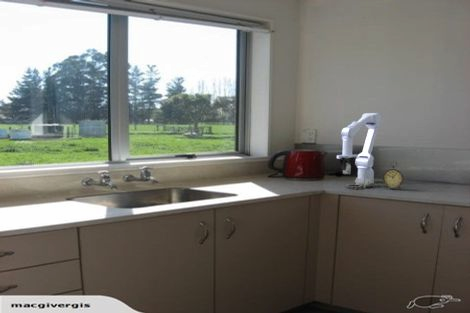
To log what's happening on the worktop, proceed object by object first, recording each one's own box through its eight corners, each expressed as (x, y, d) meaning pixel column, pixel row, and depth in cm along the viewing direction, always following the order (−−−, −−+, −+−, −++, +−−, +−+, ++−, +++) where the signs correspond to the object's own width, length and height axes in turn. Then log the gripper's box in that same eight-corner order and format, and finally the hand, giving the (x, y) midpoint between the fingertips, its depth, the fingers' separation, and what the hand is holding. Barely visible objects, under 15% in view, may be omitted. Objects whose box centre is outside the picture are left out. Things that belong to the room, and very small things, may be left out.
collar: (346, 173, 251) (347, 163, 250) (351, 173, 247) (352, 164, 246) (341, 173, 249) (341, 163, 248) (346, 174, 245) (346, 164, 244)
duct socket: (365, 185, 247) (365, 176, 247) (376, 187, 239) (376, 178, 239) (342, 187, 239) (342, 178, 239) (353, 189, 231) (353, 180, 231)
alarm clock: (381, 189, 235) (383, 160, 234) (383, 187, 240) (384, 159, 238) (402, 190, 230) (403, 161, 228) (403, 189, 235) (404, 161, 233)
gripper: (342, 148, 240) (341, 171, 241) (361, 147, 246) (360, 170, 247) (334, 147, 246) (333, 170, 247) (353, 147, 252) (352, 169, 254)
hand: (346, 170), depth 248 cm, fingers closed on collar, 4 cm apart
